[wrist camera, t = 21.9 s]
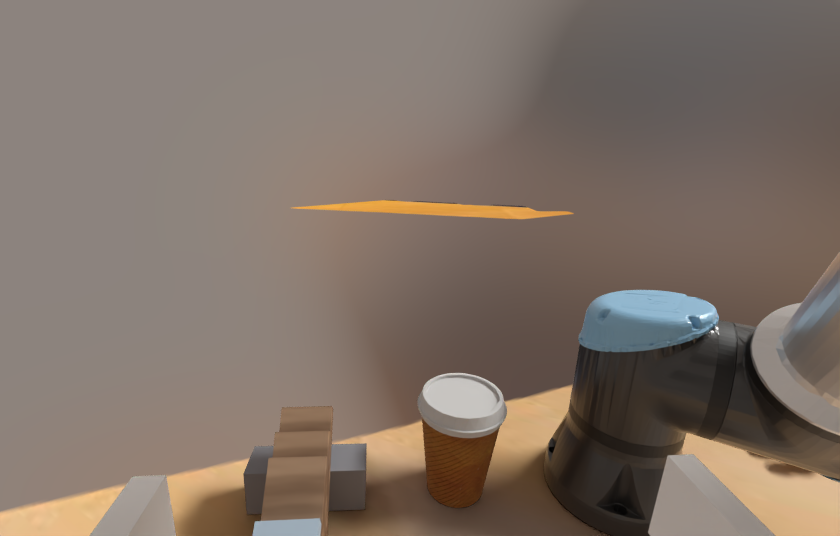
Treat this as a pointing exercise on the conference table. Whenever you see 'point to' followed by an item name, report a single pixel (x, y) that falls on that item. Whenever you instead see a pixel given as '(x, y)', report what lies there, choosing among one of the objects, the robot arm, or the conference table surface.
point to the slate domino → (288, 527)
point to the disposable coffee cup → (459, 435)
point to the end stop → (343, 477)
